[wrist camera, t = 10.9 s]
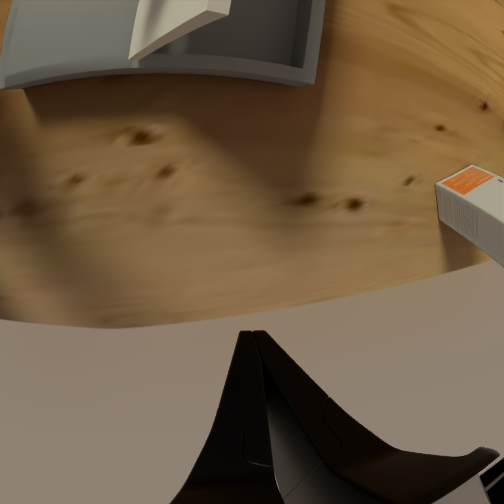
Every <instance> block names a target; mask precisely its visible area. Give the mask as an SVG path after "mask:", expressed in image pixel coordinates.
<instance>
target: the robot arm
mask: <svg viewBox="0 0 504 504" xmlns="http://www.w3.org/2000/svg"><path fill="white" fill-rule="evenodd" d="M499 455H500V454H499V453H498V452H497V451H495V450H493V449H489V448H485V447H479V448H477V449H476V450H474V451H473V452H471V453H470V454H468V455H464V456H459V457H450V456H439V455H430V454H422V453H415V452H408V451H402V450H400V449H397V448H394V447H392V446H391V445H389V444H387V443H386V442H384V441H383V440H381V439H380V438H379V437H377V436H376V435H375V434H373V433H372V432H371V431H369V430H368V429H367V428H365V427H364V426H363V425H361V424H360V423H359V422H357V421H356V420H355V419H354V418H352V417H351V416H350V415H349V414H347V413H346V412H345V411H344V410H343V409H342V408H341V407H340V406H339V405H338V404H337V403H335V402H334V400H333V399H332V398H330V397H329V396H328V395H327V394H326V393H325V392H324V391H323V390H322V389H321V388H320V387H319V386H318V385H317V384H316V383H315V382H314V381H313V380H312V379H311V378H310V377H309V376H308V375H307V374H306V373H305V372H304V371H303V369H302V368H301V367H299V365H298V364H296V362H295V361H294V360H293V359H292V358H291V357H290V356H289V355H288V354H287V353H286V352H285V351H284V350H283V349H282V348H281V347H280V346H279V345H278V344H277V343H276V342H275V340H274V339H273V338H272V337H271V336H270V335H269V334H268V333H267V332H266V331H264V330H255V331H253V332H252V331H240V332H239V335H238V339H237V343H236V346H235V350H234V353H233V357H232V360H231V364H230V368H229V371H228V375H227V379H226V382H225V385H224V389H223V393H222V396H221V400H220V403H219V407H218V410H217V413H216V416H215V420H214V423H213V426H212V428H211V431H210V433H209V436H208V438H207V440H206V442H205V445H204V447H203V449H202V451H201V453H200V455H199V457H198V459H197V461H196V463H195V465H194V467H193V469H192V471H191V472H190V474H189V476H188V478H187V480H186V482H185V483H184V485H183V487H182V488H181V490H180V491H179V492H178V494H177V495H176V496H175V498H174V499H173V500H172V501H171V503H170V504H504V457H503V458H502V459H501V460H500V461H498V462H497V463H496V464H495V465H493V466H492V467H491V468H489V469H488V470H486V471H485V472H484V473H482V474H481V475H480V476H479V475H478V473H479V472H480V471H481V470H483V469H484V468H485V467H486V466H488V465H489V464H490V463H491V462H493V461H494V460H495V459H496V458H497V457H499ZM274 472H275V474H274ZM275 476H276V479H277V483H278V486H279V489H278V487H277V484H276V480H275ZM279 490H280V491H279ZM280 493H281V494H280Z"/></svg>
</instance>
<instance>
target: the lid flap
mask: <svg viewBox="0 0 504 504" xmlns="http://www.w3.org/2000/svg"><path fill="white" fill-rule="evenodd" d="M230 4H231V0H139V3H138V8H137V13H136V18H135V23H134V28H133V34H132V40H131V46H130V52H129V59H128V60H140V59H142V58H143V57H145V56H146V55H148V54H150V53H152V52H153V51H155V50H157V49H159V48H160V47H162V46H164V45H166V44H168V43H169V42H171V41H173V40H175V39H177V38H179V37H181V36H183V35H185V34H187V33H189V32H191V31H193V30H195V29H197V28H199V27H202V26H204V25H206V24H208V23H210V22H213V21H215V20H217V19H220V18H222V17H225V16H227V15H229V10H230Z"/></svg>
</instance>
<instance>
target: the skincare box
mask: <svg viewBox="0 0 504 504" xmlns="http://www.w3.org/2000/svg"><path fill="white" fill-rule="evenodd" d="M435 188H436V196H437V204H438V215H439V220H440V221H442V222H443V223H445V224H446V225H448V226H449V227H451V228H452V229H454V230H455V231H456V232H458V233H459V234H461V235H462V236H463V237H465V238H466V239H467V240H469V241H470V242H472V243H473V244H474V245H476V246H477V247H478V248H480V249H481V250H482V251H483V252H485V253H486V254H487V255H489V256H490V257H491V258H492V259H494V260H495V261H496V262H497V263H499V264H500V265H501V266H502V267H503V268H504V178H502V177H499V176H497V175H495V174H493V173H491V172H489V171H486V170H484V169H482V168H480V167H477V166H475V165H470V166H469V167H467V168H465V169H463V170H461V171H459V172H457V173H456V174H454V175H452V176H449V177H447V178H445V179H443V180H441V181H439V182H437V183H436V184H435Z"/></svg>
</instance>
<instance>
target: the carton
mask: <svg viewBox="0 0 504 504" xmlns="http://www.w3.org/2000/svg"><path fill="white" fill-rule="evenodd" d="M325 2H326V0H231V4H230V10H229V15H227V16H225V17H222V18H220V19H217V20H215V21H213V22H210V23H208V24H206V25H204V26H202V27H199V28H197V29H195V30H193V31H191V32H189V33H187V34H185V35H183V36H181V37H179V38H177V39H175V40H173V41H171V42H169V43H168V44H166V45H164V46H162V47H160V48H159V49H157V50H155V51H153V52H152V53H150V54H148V55H146V56H145V57H143V58H142V59H140V60H128V59H129V52H130V46H131V40H132V34H133V28H134V23H135V18H136V13H137V8H138V3H139V0H13V1H12V5H11V8H10V12H9V16H8V20H7V24H6V28H5V33H4V38H3V43H2V49H1V55H0V90H6V89H23V88H28V87H32V86H37V85H42V84H48V83H53V82H59V81H66V80H73V79H80V78H89V77H98V76H110V75H126V74H194V75H210V76H223V77H233V78H242V79H250V80H257V81H264V82H271V83H277V84H283V85H288V86H294V87H300V86H307V85H315V78H316V71H317V64H318V57H319V50H320V42H321V35H322V27H323V19H324V11H325Z"/></svg>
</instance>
